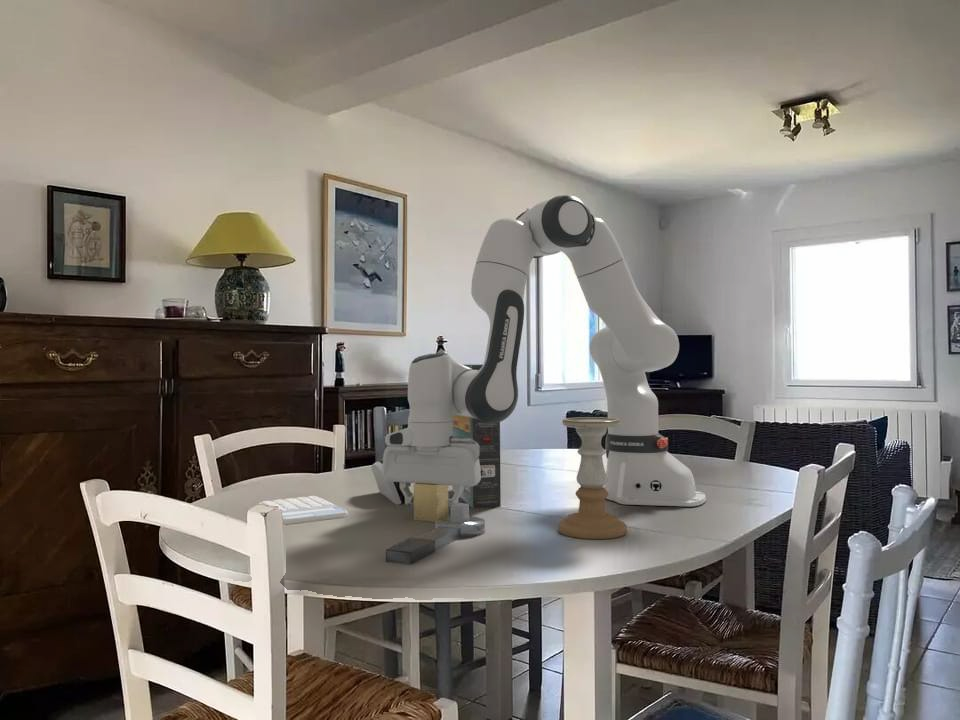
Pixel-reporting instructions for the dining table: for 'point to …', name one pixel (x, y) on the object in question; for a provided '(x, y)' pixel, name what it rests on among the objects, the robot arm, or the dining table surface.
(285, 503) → the calculator
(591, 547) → the dining table surface
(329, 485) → the dining table surface
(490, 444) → the cake mix box
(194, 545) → the dining table surface
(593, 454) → the candle holder
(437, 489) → the tan rectangular block
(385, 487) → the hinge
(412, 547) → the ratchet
